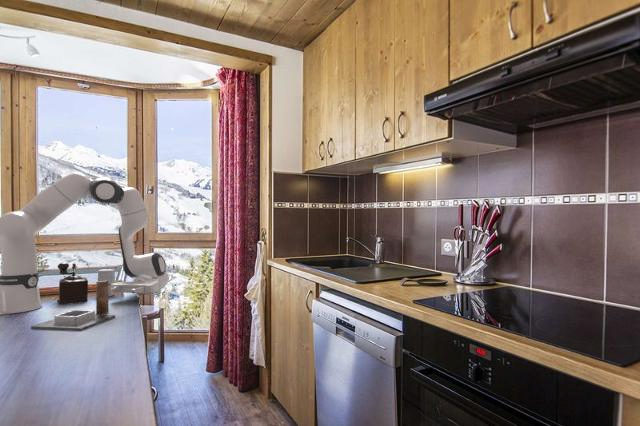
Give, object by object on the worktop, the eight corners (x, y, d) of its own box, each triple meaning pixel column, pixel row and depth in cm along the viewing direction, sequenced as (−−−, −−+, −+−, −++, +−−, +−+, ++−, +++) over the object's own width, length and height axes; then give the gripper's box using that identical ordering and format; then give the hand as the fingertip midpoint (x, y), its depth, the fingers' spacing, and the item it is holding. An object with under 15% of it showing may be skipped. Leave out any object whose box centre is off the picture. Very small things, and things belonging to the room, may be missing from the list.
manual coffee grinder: (56, 300, 160) (57, 259, 161) (86, 297, 167) (86, 258, 167) (57, 307, 148) (57, 263, 148) (89, 303, 154) (89, 261, 155)
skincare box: (96, 296, 168) (97, 270, 168) (101, 294, 172) (101, 269, 172) (111, 296, 169) (111, 270, 169) (115, 294, 173) (115, 268, 173)
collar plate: (31, 328, 119) (31, 318, 119) (70, 315, 135) (70, 306, 135) (80, 330, 117) (80, 320, 117) (115, 317, 133) (115, 308, 133)
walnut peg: (93, 314, 137) (93, 282, 137) (101, 311, 141) (101, 280, 141) (103, 314, 137) (103, 282, 137) (110, 311, 141) (111, 280, 141)
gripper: (122, 277, 166) (100, 282, 152) (164, 278, 163) (145, 283, 150) (122, 291, 166) (100, 297, 152) (164, 292, 163) (145, 299, 150)
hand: (123, 291), depth 151 cm, fingers open, 8 cm apart
